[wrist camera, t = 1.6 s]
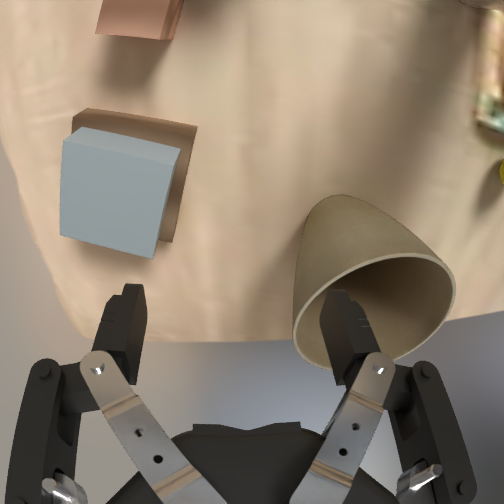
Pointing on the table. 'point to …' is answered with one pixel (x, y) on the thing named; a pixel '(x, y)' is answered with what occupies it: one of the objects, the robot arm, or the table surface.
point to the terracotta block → (139, 18)
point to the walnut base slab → (153, 132)
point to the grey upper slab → (115, 190)
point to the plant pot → (368, 278)
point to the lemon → (502, 172)
